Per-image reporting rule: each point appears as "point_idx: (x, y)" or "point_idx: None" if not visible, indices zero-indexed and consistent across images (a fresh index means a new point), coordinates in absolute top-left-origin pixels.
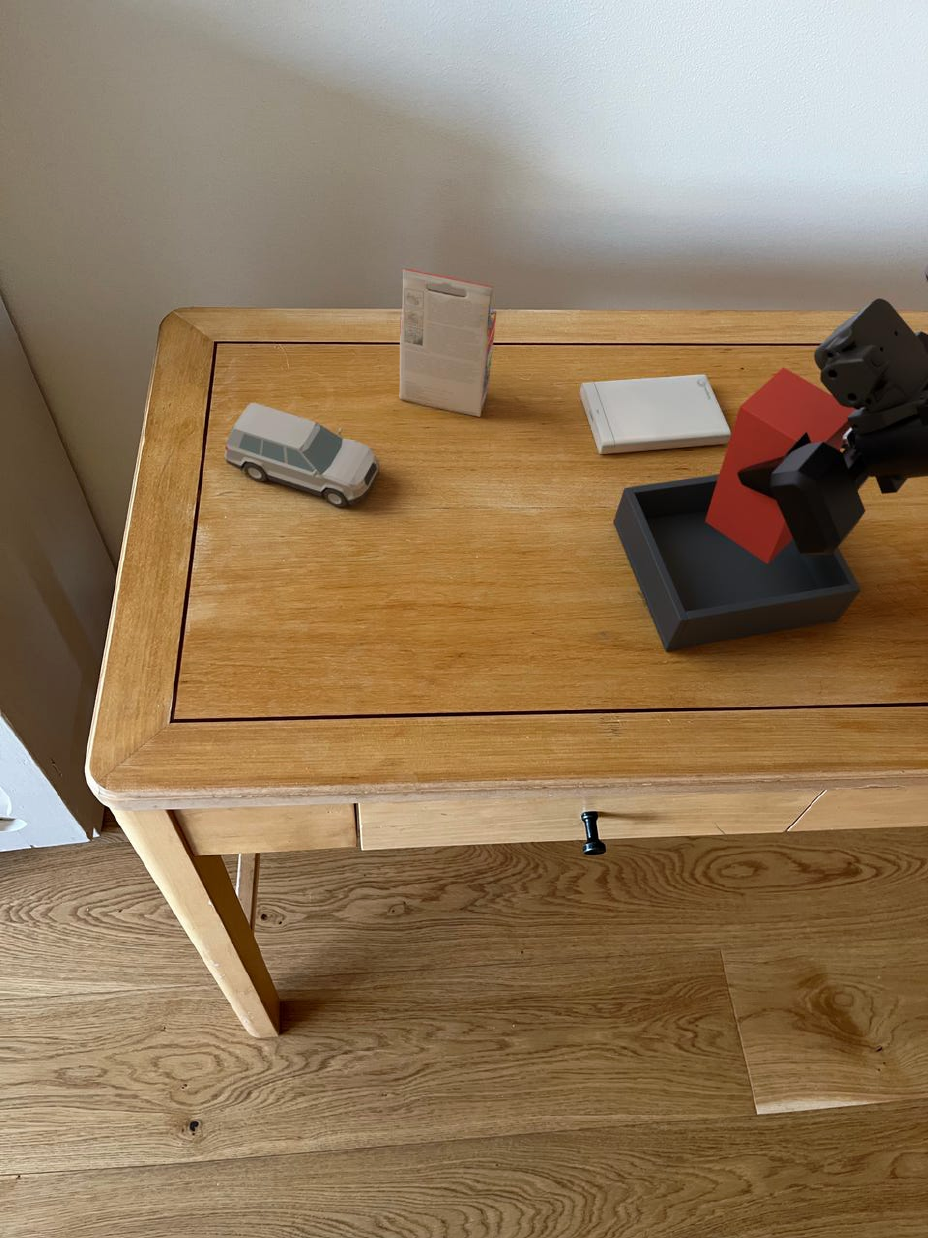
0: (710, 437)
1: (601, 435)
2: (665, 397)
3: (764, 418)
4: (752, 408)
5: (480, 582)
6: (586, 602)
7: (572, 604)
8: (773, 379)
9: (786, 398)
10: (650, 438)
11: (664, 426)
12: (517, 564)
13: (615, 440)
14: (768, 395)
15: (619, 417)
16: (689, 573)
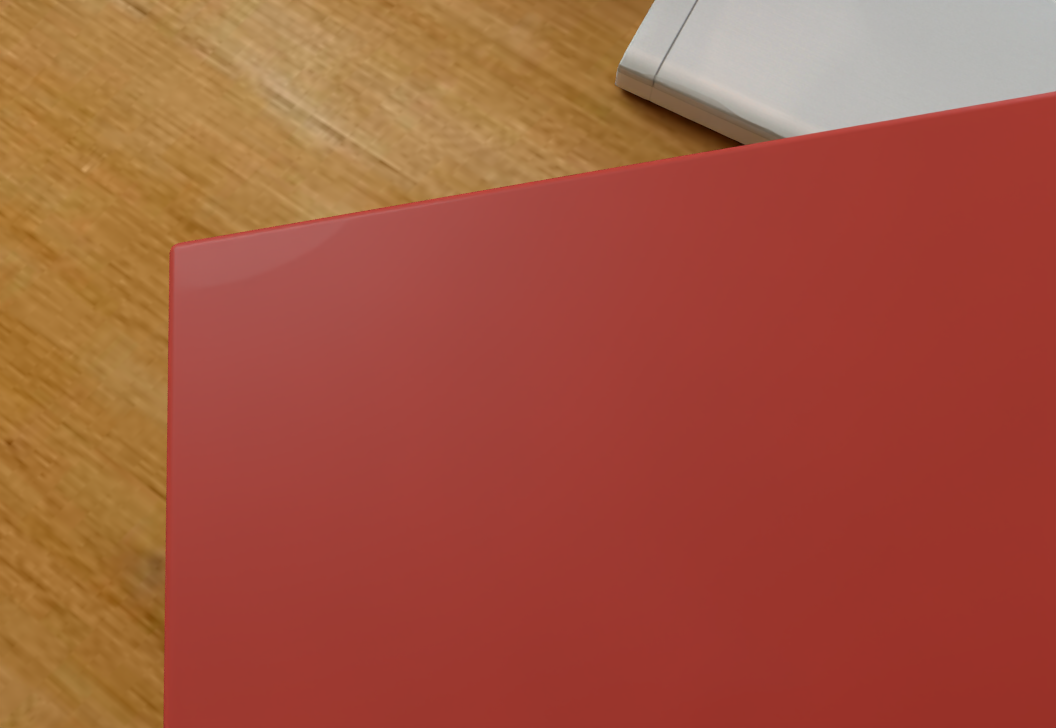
0: None
1: (639, 34)
2: (924, 25)
3: (217, 674)
4: (261, 388)
5: (30, 235)
6: None
7: (165, 434)
8: (990, 145)
9: (876, 599)
10: (766, 118)
11: (838, 106)
12: (149, 245)
13: (663, 69)
14: (660, 346)
15: (736, 11)
16: None
